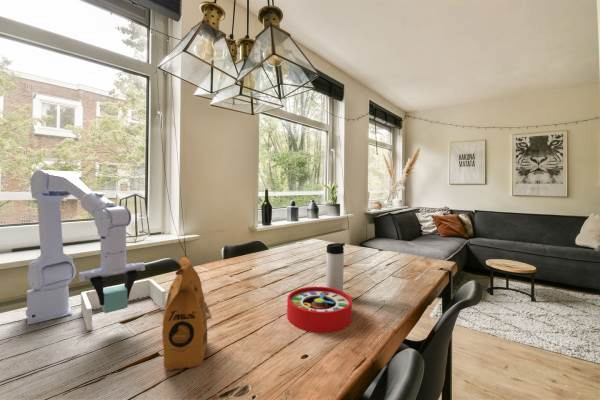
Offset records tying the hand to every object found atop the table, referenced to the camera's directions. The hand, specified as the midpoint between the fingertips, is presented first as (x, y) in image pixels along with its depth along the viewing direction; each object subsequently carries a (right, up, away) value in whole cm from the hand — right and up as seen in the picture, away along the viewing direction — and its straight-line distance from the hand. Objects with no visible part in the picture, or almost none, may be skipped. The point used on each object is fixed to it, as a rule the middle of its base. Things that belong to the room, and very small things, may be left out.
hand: (114, 301), depth 73 cm
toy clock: (+56, -9, +11) cm, 58 cm away
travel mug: (+63, -8, +26) cm, 68 cm away
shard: (+16, -9, +11) cm, 22 cm away
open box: (-6, -8, +13) cm, 16 cm away
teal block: (0, -2, 0) cm, 2 cm away
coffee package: (+23, -9, -9) cm, 27 cm away
